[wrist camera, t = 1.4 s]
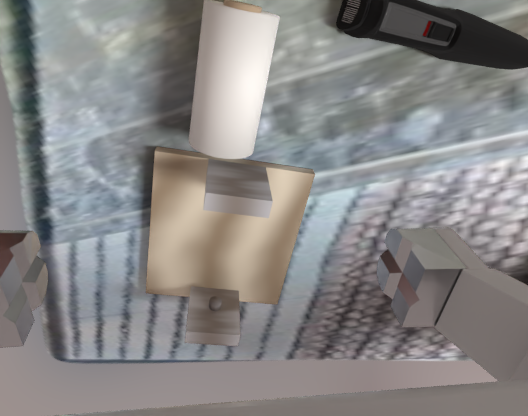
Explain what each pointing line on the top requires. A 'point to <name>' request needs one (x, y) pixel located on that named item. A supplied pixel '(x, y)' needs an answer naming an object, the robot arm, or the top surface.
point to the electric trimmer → (434, 32)
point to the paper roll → (231, 77)
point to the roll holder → (222, 236)
